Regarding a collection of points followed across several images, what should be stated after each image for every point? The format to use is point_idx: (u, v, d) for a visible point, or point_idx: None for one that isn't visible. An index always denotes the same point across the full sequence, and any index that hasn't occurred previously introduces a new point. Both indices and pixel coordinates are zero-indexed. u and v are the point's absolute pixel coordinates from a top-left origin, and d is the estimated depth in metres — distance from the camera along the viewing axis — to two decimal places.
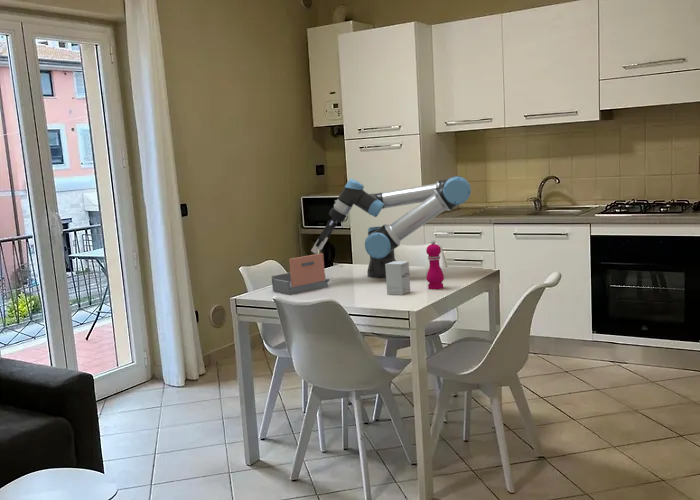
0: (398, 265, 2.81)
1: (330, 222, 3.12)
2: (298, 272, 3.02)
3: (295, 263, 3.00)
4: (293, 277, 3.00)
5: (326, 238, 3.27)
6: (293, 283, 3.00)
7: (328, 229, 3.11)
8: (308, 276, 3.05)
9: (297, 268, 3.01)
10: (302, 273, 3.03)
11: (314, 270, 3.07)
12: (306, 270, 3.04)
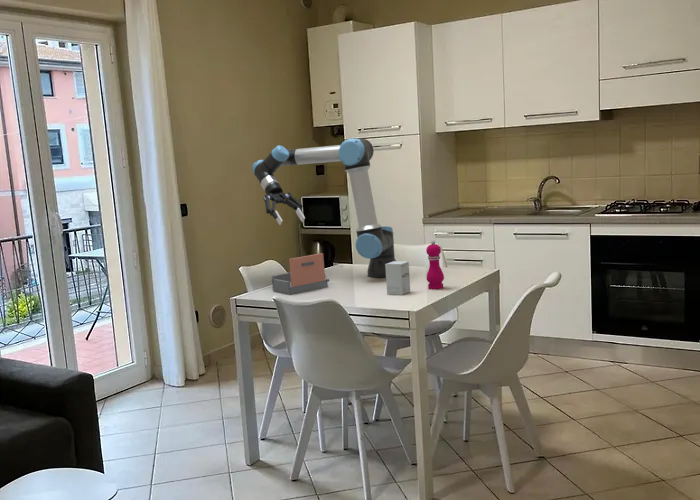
0: (398, 265, 2.81)
1: (264, 198, 3.21)
2: (298, 272, 3.02)
3: (295, 263, 3.00)
4: (293, 277, 3.00)
5: (297, 209, 3.23)
6: (293, 283, 3.00)
7: (266, 202, 3.18)
8: (308, 276, 3.05)
9: (297, 268, 3.01)
10: (302, 273, 3.03)
11: (314, 270, 3.07)
12: (306, 270, 3.04)
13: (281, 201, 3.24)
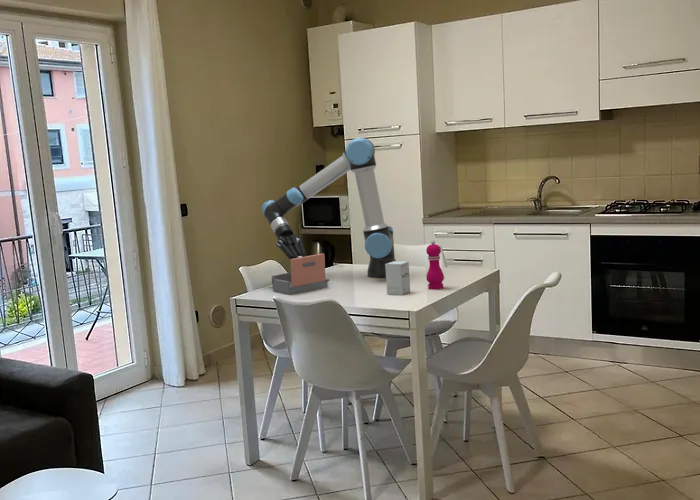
0: (398, 265, 2.81)
1: (277, 245, 3.10)
2: (299, 272, 3.01)
3: (296, 263, 3.00)
4: (294, 277, 3.00)
5: None
6: (293, 283, 3.00)
7: (283, 248, 3.08)
8: (308, 276, 3.05)
9: (298, 268, 3.01)
10: (303, 273, 3.03)
11: (315, 270, 3.06)
12: (307, 270, 3.04)
13: (292, 244, 3.13)
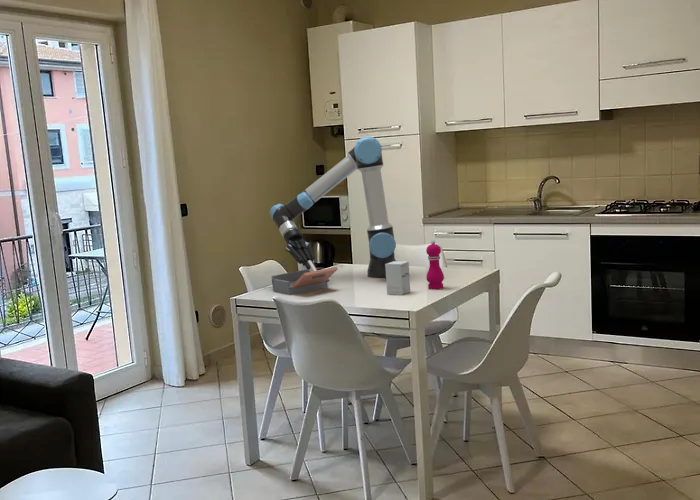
0: (398, 265, 2.81)
1: (287, 249, 3.05)
2: (305, 281, 2.98)
3: (307, 277, 2.95)
4: (298, 283, 2.98)
5: None
6: (295, 286, 3.00)
7: (293, 252, 3.03)
8: (312, 281, 3.03)
9: (306, 279, 2.97)
10: (308, 281, 3.00)
11: (320, 278, 3.04)
12: (313, 279, 3.01)
13: (301, 248, 3.08)
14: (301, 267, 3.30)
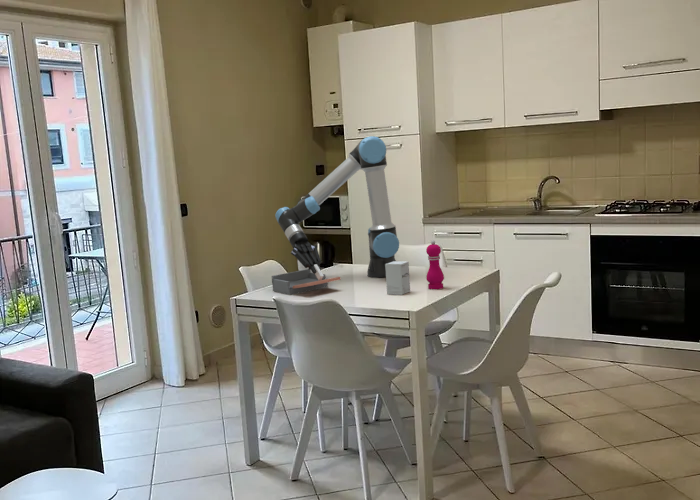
0: (398, 265, 2.81)
1: (292, 253, 3.01)
2: None
3: None
4: (299, 287, 2.98)
5: None
6: None
7: (298, 256, 3.00)
8: None
9: None
10: None
11: None
12: None
13: (307, 252, 3.04)
14: (301, 267, 3.30)
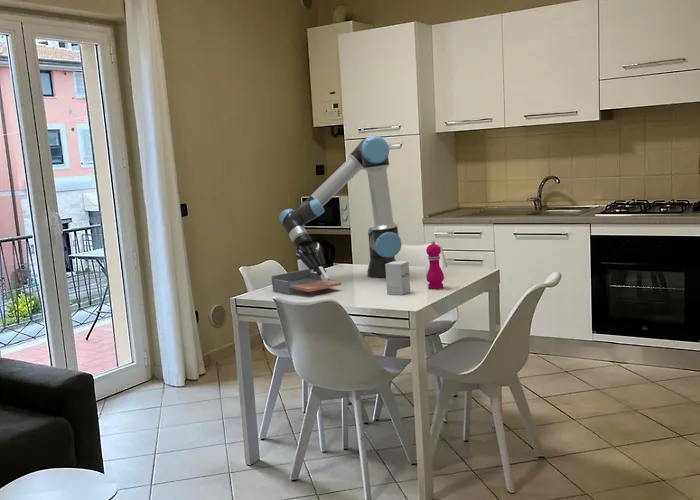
0: (398, 265, 2.81)
1: (297, 255, 2.99)
2: None
3: None
4: (299, 289, 2.98)
5: None
6: (295, 288, 3.00)
7: (303, 258, 2.97)
8: None
9: None
10: None
11: None
12: None
13: (311, 254, 3.02)
14: (301, 267, 3.30)
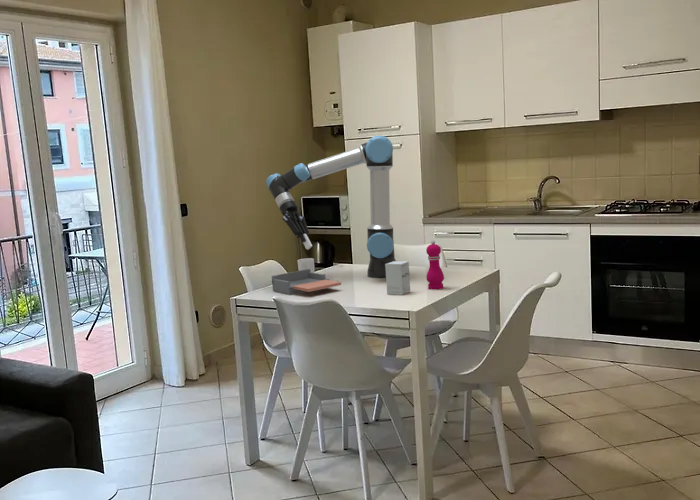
0: (398, 265, 2.81)
1: (284, 218, 3.06)
2: None
3: None
4: (299, 289, 2.98)
5: None
6: (295, 288, 3.00)
7: (290, 223, 3.05)
8: None
9: None
10: None
11: None
12: None
13: None
14: (301, 267, 3.30)
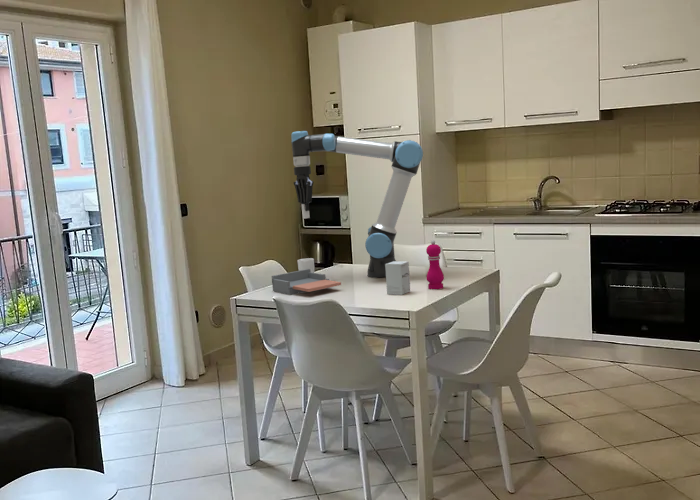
0: (398, 265, 2.81)
1: (310, 183, 3.12)
2: None
3: None
4: (299, 289, 2.98)
5: None
6: (295, 288, 3.00)
7: (311, 190, 3.14)
8: None
9: None
10: None
11: None
12: None
13: None
14: (301, 267, 3.30)
